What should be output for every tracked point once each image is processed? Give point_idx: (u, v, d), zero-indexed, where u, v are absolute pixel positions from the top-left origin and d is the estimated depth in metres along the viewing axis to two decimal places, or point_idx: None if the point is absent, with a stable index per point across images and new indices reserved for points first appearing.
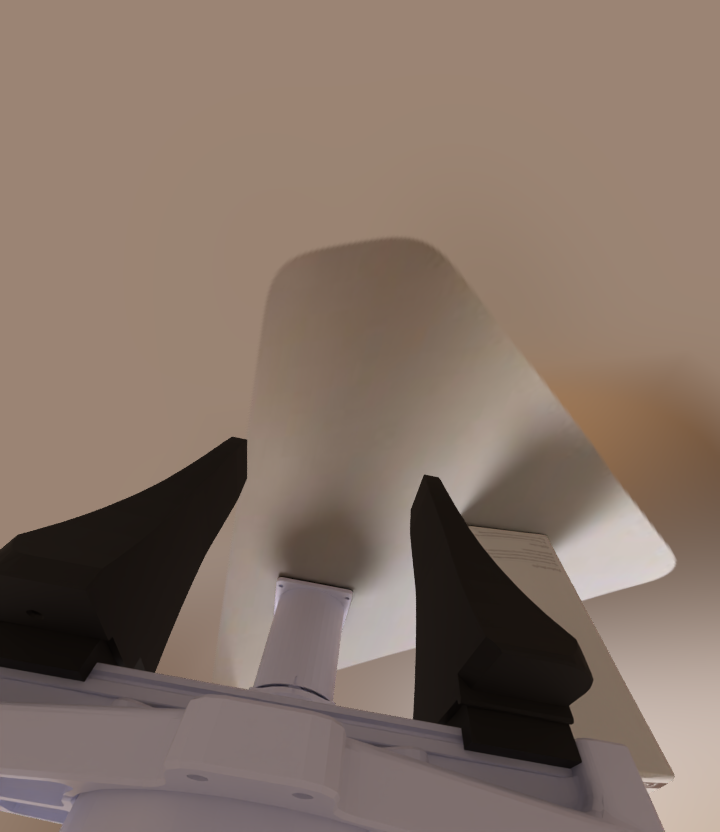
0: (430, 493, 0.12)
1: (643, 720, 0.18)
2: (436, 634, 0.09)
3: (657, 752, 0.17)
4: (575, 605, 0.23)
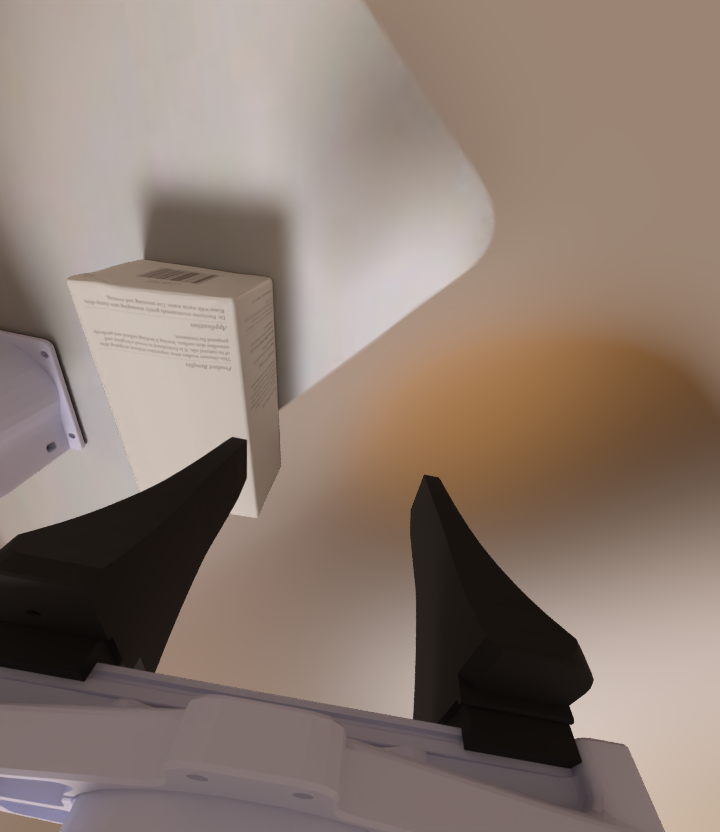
0: (430, 493, 0.12)
1: (252, 495, 0.21)
2: (436, 634, 0.09)
3: (251, 509, 0.22)
4: (232, 414, 0.18)
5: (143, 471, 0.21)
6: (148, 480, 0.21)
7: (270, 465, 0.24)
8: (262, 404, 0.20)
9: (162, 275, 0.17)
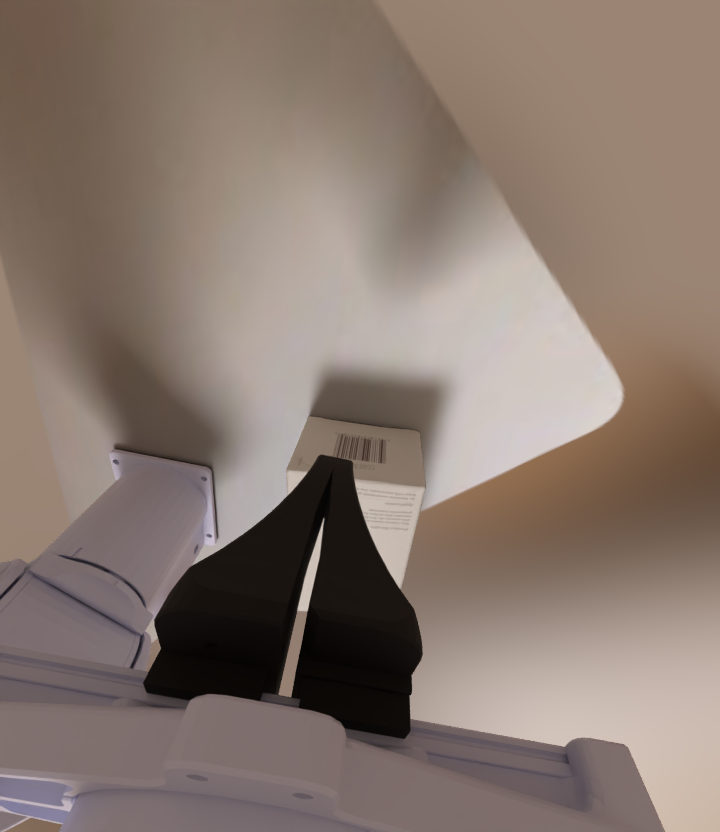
0: (332, 474, 0.12)
1: None
2: None
3: None
4: (397, 557, 0.21)
5: (302, 589, 0.24)
6: (303, 595, 0.25)
7: None
8: None
9: (349, 450, 0.20)
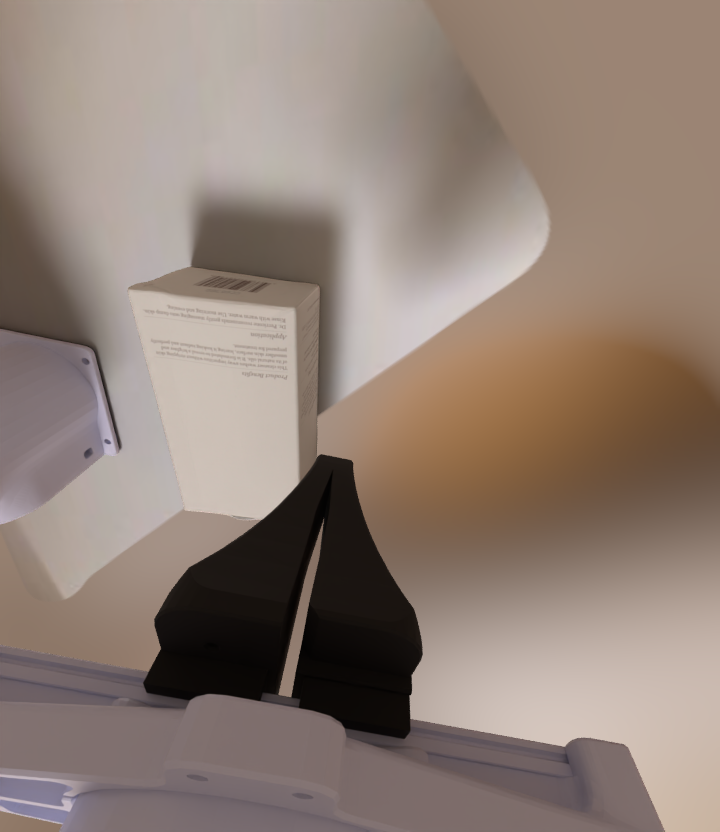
0: (332, 474, 0.12)
1: None
2: None
3: None
4: (284, 422, 0.18)
5: (188, 478, 0.21)
6: (192, 487, 0.21)
7: None
8: (308, 411, 0.20)
9: (217, 284, 0.17)
